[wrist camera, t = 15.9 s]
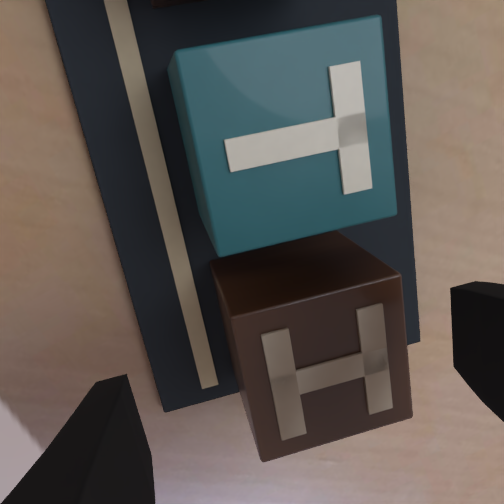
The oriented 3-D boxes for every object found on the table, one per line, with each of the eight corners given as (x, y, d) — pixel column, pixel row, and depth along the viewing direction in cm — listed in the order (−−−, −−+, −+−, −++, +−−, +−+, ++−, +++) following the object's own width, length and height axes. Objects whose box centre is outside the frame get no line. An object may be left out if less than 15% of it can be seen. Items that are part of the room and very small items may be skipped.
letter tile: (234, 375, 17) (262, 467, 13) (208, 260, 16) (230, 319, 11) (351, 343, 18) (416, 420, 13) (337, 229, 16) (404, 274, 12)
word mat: (163, 405, 17) (164, 414, 17) (-12, -205, 12) (-20, -220, 11) (414, 336, 19) (421, 342, 18) (371, -242, 13) (380, -257, 12)
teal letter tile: (199, 216, 15) (219, 260, 11) (166, 67, 14) (173, 49, 9) (332, 186, 16) (400, 217, 11) (314, 40, 14) (385, 12, 10)
